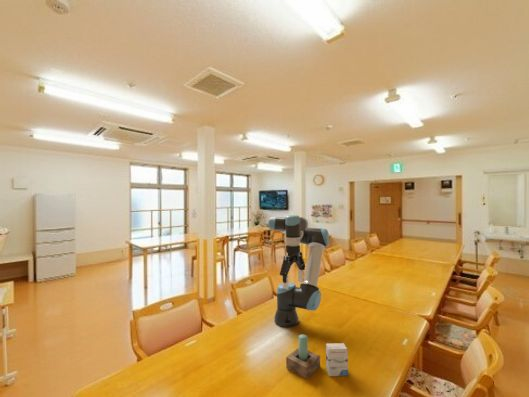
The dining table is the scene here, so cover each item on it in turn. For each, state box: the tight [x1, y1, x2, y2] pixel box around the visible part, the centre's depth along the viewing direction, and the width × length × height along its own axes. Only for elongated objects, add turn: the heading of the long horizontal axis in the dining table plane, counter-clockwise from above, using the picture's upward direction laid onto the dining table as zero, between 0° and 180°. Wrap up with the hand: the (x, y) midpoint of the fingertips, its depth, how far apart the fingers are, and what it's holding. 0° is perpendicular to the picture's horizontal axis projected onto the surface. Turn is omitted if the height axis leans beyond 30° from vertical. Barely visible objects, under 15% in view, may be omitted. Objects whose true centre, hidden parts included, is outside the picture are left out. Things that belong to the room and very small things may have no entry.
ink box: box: [325, 342, 349, 377], centre depth 113 cm, size 8×5×12 cm, turn 92°
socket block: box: [285, 347, 321, 380], centre depth 116 cm, size 11×11×5 cm
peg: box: [298, 334, 309, 362], centre depth 116 cm, size 4×4×14 cm
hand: (293, 285), depth 134 cm, fingers open, 13 cm apart
